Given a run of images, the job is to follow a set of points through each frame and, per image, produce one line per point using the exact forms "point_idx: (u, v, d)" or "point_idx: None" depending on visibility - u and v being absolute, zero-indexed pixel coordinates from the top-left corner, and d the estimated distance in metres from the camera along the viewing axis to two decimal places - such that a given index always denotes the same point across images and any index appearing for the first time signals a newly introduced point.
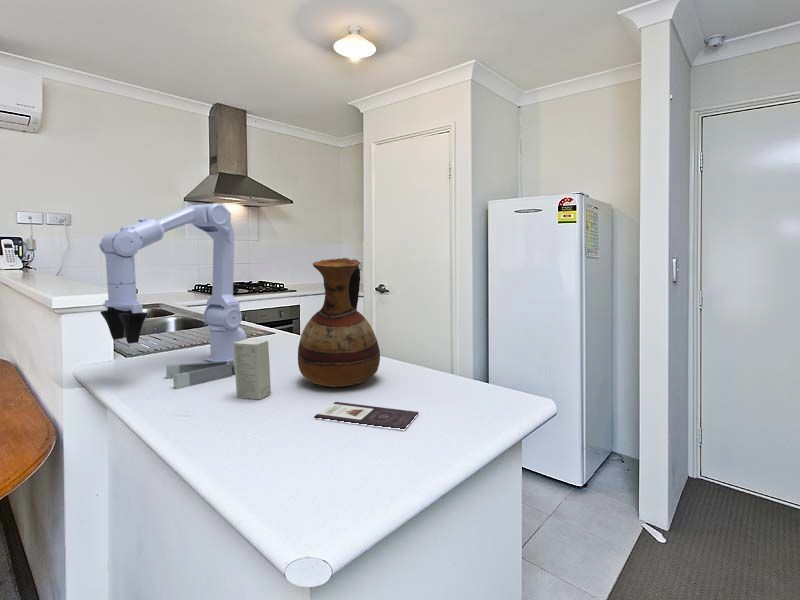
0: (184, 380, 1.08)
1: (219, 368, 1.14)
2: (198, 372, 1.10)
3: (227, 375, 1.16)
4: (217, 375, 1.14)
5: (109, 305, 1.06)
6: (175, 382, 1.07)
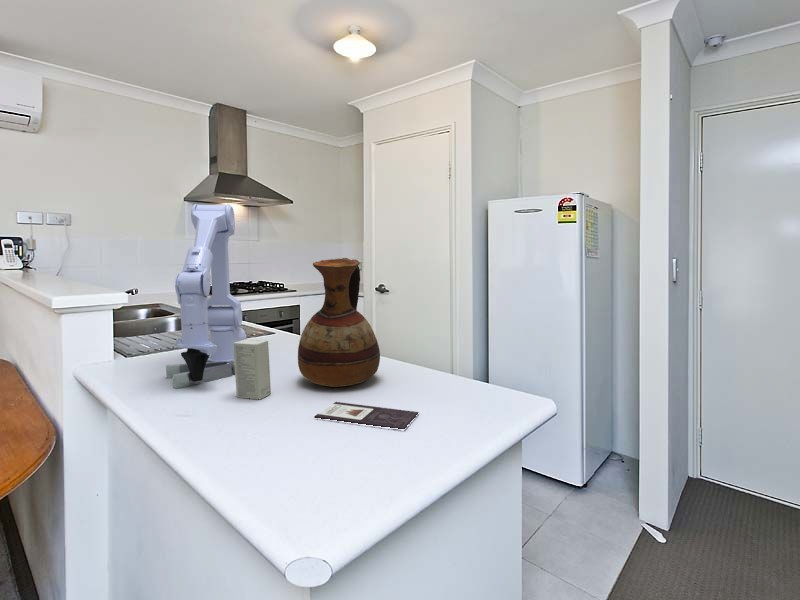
0: (183, 380, 1.08)
1: (219, 368, 1.14)
2: None
3: (227, 375, 1.16)
4: (217, 375, 1.14)
5: (184, 346, 1.05)
6: (174, 382, 1.07)
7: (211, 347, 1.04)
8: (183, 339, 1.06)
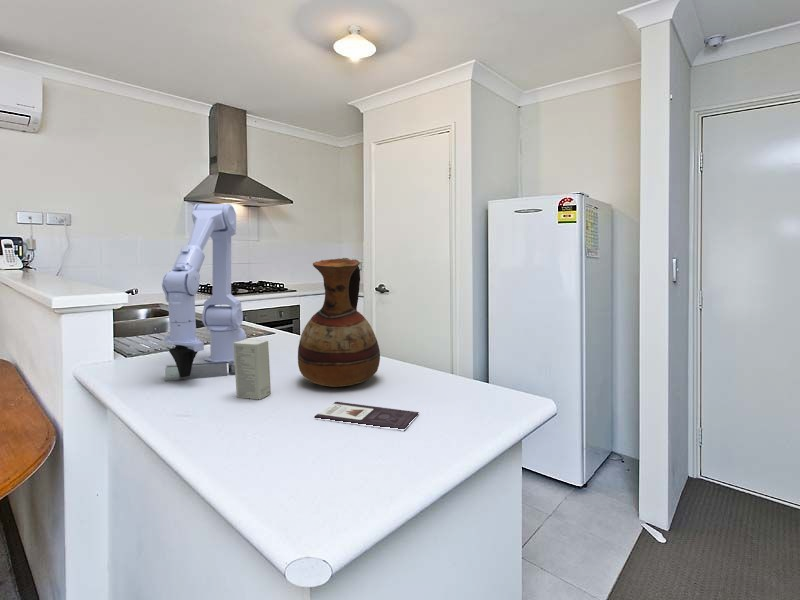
0: (173, 373, 1.13)
1: (212, 366, 1.16)
2: None
3: (221, 374, 1.17)
4: (210, 372, 1.16)
5: (171, 343, 1.09)
6: (165, 374, 1.13)
7: (198, 344, 1.07)
8: (171, 336, 1.10)
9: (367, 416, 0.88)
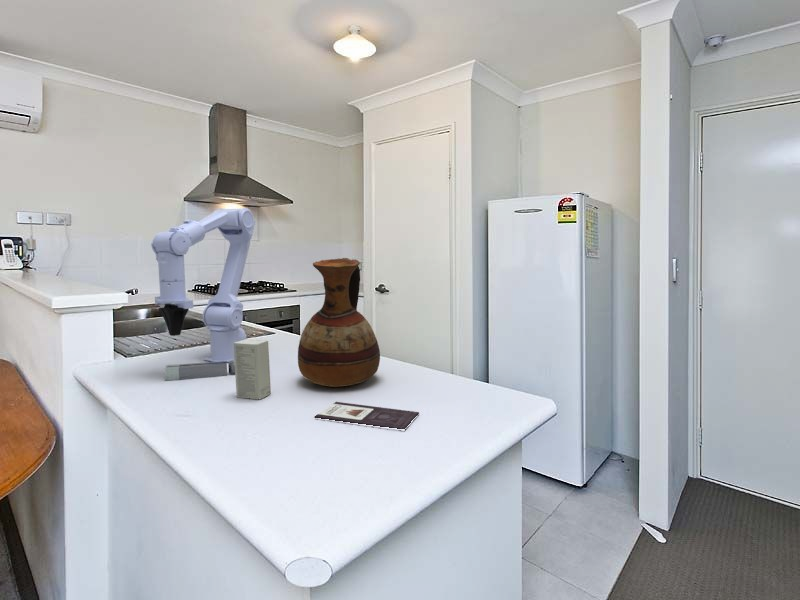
0: (173, 373, 1.13)
1: (212, 366, 1.16)
2: (188, 368, 1.14)
3: (221, 374, 1.17)
4: (210, 372, 1.16)
5: (161, 301, 1.12)
6: (165, 374, 1.13)
7: (187, 301, 1.11)
8: (161, 295, 1.13)
9: (367, 416, 0.88)
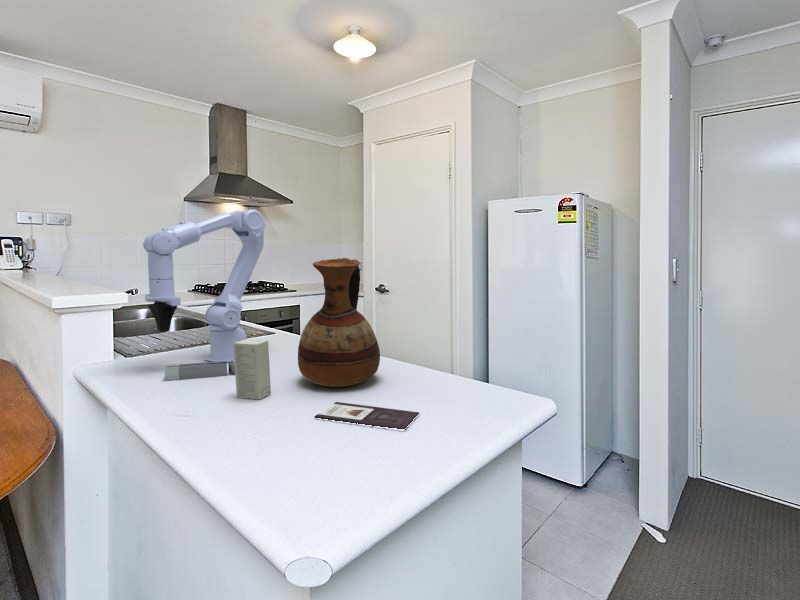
0: (173, 373, 1.13)
1: (212, 366, 1.16)
2: (188, 368, 1.14)
3: (221, 374, 1.17)
4: (210, 372, 1.16)
5: (150, 298, 1.17)
6: (165, 374, 1.13)
7: (175, 299, 1.16)
8: (150, 292, 1.18)
9: (367, 416, 0.88)
